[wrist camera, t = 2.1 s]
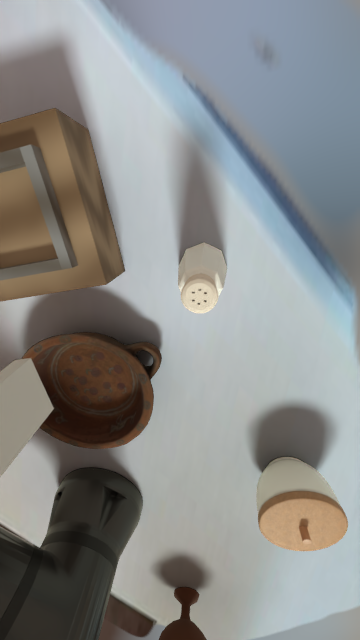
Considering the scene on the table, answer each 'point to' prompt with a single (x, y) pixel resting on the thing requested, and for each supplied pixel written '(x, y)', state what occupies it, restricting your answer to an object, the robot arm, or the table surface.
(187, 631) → the ice cream bowl
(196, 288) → the pepper shaker
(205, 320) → the table surface
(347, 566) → the table surface
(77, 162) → the display riser
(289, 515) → the lidded jar
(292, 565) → the table surface
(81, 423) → the dish
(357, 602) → the table surface
